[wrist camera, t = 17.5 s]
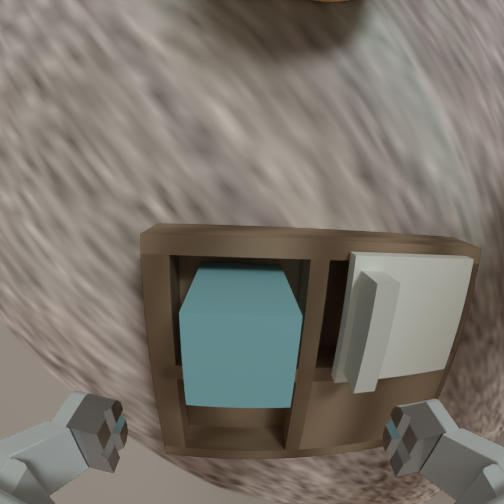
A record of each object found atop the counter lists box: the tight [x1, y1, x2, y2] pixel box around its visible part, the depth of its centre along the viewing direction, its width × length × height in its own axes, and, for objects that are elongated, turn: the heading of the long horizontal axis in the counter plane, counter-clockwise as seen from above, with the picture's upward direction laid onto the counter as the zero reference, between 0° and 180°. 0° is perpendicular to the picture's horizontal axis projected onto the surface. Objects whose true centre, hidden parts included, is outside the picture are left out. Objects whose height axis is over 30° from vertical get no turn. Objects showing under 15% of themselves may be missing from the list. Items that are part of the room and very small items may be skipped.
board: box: [140, 224, 482, 459], centre depth 19 cm, size 20×16×4 cm
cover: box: [331, 252, 474, 393], centre depth 15 cm, size 8×8×3 cm
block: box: [179, 262, 303, 408], centre depth 15 cm, size 4×4×7 cm
